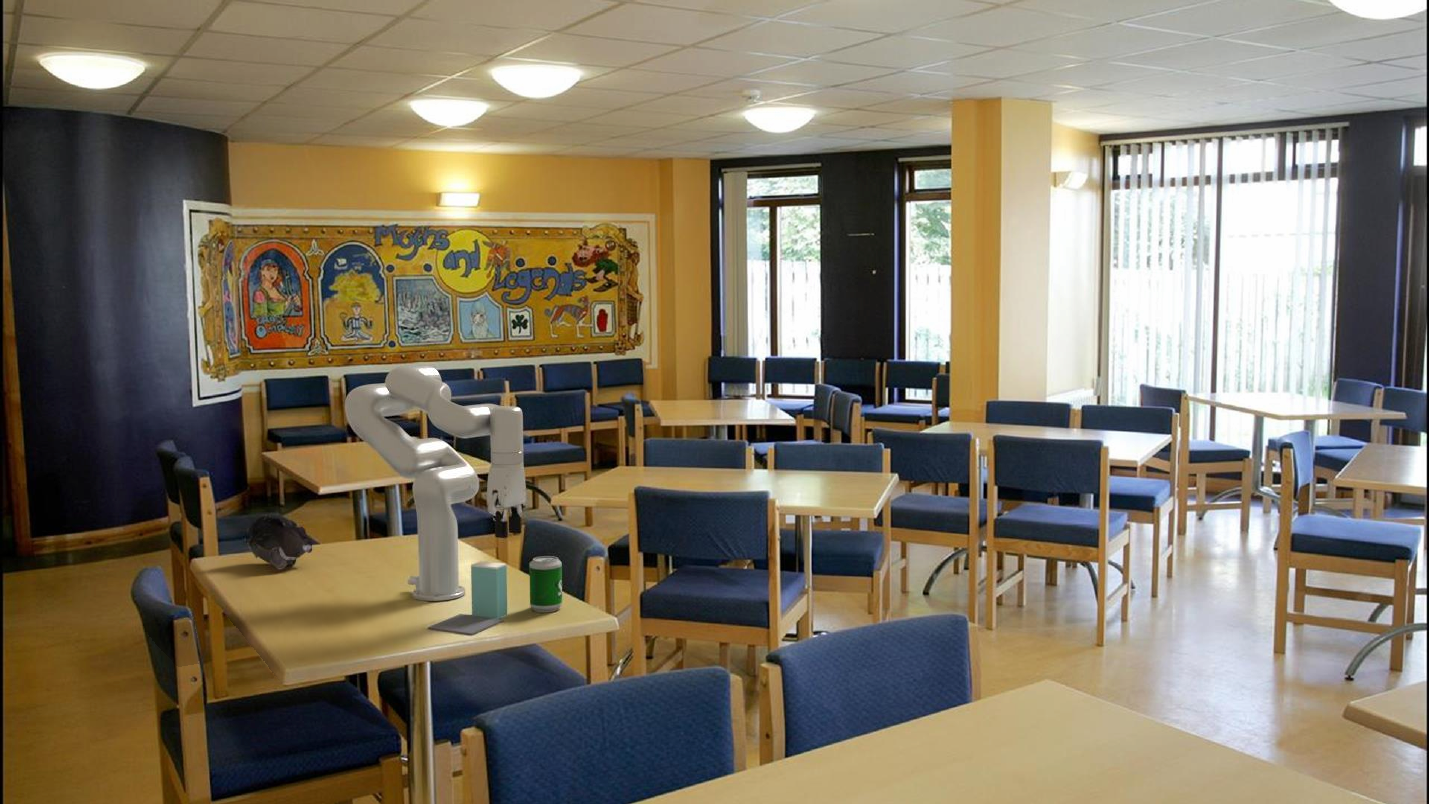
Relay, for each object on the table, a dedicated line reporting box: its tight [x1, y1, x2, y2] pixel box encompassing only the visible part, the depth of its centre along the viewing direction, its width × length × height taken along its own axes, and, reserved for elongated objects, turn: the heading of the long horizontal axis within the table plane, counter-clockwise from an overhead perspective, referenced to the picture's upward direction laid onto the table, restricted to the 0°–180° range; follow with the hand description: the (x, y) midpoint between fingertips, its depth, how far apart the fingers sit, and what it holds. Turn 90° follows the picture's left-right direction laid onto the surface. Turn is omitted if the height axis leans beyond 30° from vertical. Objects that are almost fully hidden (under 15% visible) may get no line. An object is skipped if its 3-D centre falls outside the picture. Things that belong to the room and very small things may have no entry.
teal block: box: [470, 560, 508, 619], centre depth 263 cm, size 7×4×12 cm, turn 66°
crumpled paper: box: [244, 514, 313, 571], centre depth 312 cm, size 14×15×20 cm
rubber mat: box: [427, 613, 505, 636], centre depth 255 cm, size 12×12×1 cm
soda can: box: [528, 555, 563, 613], centre depth 268 cm, size 8×8×12 cm
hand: (508, 534), depth 269 cm, fingers open, 4 cm apart
